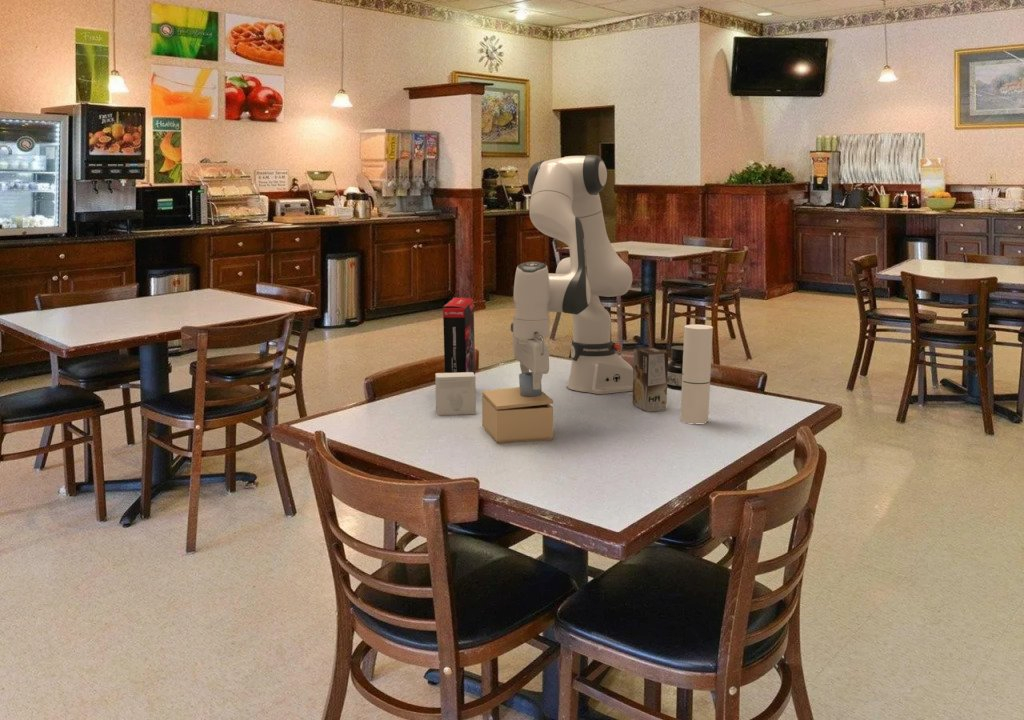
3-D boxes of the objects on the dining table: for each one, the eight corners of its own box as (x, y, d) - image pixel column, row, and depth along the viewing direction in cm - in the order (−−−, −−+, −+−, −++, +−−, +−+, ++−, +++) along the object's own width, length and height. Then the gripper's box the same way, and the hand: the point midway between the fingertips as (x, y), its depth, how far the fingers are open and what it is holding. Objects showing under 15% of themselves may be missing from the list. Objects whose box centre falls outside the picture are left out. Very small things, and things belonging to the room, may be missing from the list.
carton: (534, 422, 242) (535, 392, 241) (552, 439, 227) (553, 407, 225) (482, 425, 239) (482, 395, 237) (496, 443, 224) (496, 410, 222)
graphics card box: (467, 402, 263) (467, 306, 257) (443, 401, 263) (442, 305, 258) (475, 388, 279) (475, 297, 274) (452, 387, 280) (452, 297, 274)
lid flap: (535, 388, 240) (535, 385, 240) (553, 403, 225) (553, 400, 225) (482, 394, 237) (481, 391, 237) (496, 409, 222) (496, 406, 222)
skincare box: (473, 408, 256) (473, 371, 254) (476, 414, 250) (476, 376, 248) (435, 409, 254) (434, 372, 252) (436, 415, 248) (436, 377, 246)
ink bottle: (658, 385, 285) (660, 346, 282) (680, 382, 289) (681, 343, 287) (681, 391, 277) (682, 352, 274) (702, 388, 281) (704, 349, 279)
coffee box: (667, 410, 255) (669, 352, 252) (646, 412, 253) (648, 354, 250) (651, 402, 264) (653, 346, 261) (630, 404, 262) (632, 348, 258)
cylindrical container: (704, 417, 248) (709, 324, 243) (710, 424, 241) (715, 329, 236) (677, 417, 248) (681, 324, 243) (683, 424, 241) (687, 329, 236)
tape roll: (538, 390, 235) (537, 370, 234) (544, 395, 230) (543, 374, 229) (517, 392, 234) (516, 372, 233) (523, 397, 229) (522, 376, 228)
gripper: (556, 336, 220) (555, 393, 222) (532, 322, 239) (532, 375, 242) (530, 337, 218) (529, 395, 221) (508, 323, 237) (508, 376, 240)
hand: (530, 384), depth 231 cm, fingers open, 8 cm apart
